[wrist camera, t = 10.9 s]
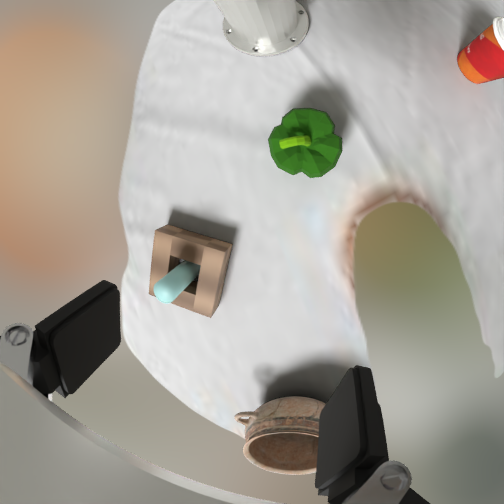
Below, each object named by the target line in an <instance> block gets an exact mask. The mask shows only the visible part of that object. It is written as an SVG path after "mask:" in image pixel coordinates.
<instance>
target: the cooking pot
mask: <svg viewBox="0 0 504 504" xmlns="http://www.w3.org/2000/svg"><path fill="white" fill-rule="evenodd" d="M325 405H326V404H325V403H324V402H321V401H319V400H316V399H312V398H308V397H298V396H292V397H283V398H278V399H275V400H271V401H269V402H267V403H265V404H263V405H262V406H260V407H259V408H257V409H256V410H255V411H254V412H240V413H238V414H236V415H235V420H236V421H237V422H239V423H242V424H243V425H245V426H246V428H245V439H246V444H245V445H244V448H243V452H244V455H245V457H246V458H247V459H248V460H249V461H250V462H251V463H253V464H254V465H256V466H258V467H260V468H262V469H265V470H267V471H271V472H275V473H281V474H291V475H299V474H309V473H314V472H316V467H317V453H318V436H319V417H320V413H321V411H322V409H323V408H324V406H325ZM247 416H249V419H241V418H240V417H247Z"/></svg>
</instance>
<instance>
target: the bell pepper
mask: <svg viewBox="0 0 504 504" xmlns="http://www.w3.org/2000/svg"><path fill="white" fill-rule="evenodd" d="M334 128H335V125H334V123H333V122H332V120H331V119H330V117H329V116H328V114H327V113H326V112H323V111H320V110H316V109H312V108H299V109H292V110H291V111H290V112H288V113H287V114H286V115H285V116H284V117H282V122H281V125H279V126H276V127H274V129H273V131H272V133H271V135H270V137H269V139H268V141H269V147H270V152H271V156H272V158H273V160H274V161H275V163H276V165H277V167H278V168H280V169H282V170H284V171H286V172H288V173H290V174H292V175H295V174H297V173H299V172H303V173H304V174H306V175H307V176H308V177H310V178H314V177H322V176H323V175H324V174H326V173H327V172H328V171H330V170H331V169H333V168H334V167H335V165H336V163H337V161H338V159H339V157H340V155H341V153H342V138H341V137H339V136H337V135H336V134H334Z"/></svg>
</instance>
